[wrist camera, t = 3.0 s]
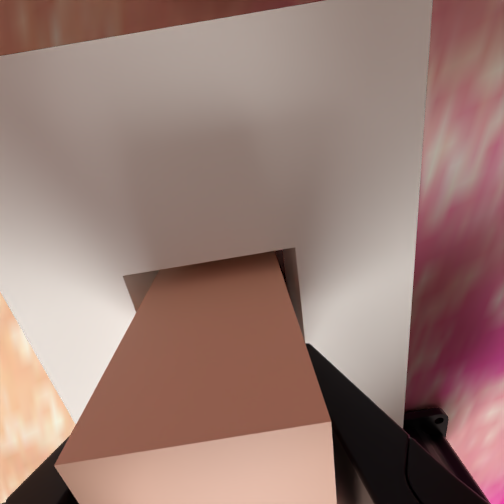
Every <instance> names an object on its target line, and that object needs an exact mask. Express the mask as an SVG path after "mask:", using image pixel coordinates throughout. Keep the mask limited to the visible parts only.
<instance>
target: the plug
mask: <svg viewBox="0 0 504 504" xmlns="http://www.w3.org/2000/svg"><path fill="white" fill-rule="evenodd" d="M54 466H55V468H56V469H57V471H58V472H59V474H60V476H61V477H62V479H63V480H64V482H65V483H66V485H67V486H68V488H69V489H70V491H71V492H72V494H73V495H74V497H75V498H76V500H77V501H78V503H79V504H337V499H336V484H335V469H334V454H333V439H332V424H331V419H330V416H329V413H328V410H327V407H326V404H325V401H324V398H323V395H322V392H321V389H320V386H319V383H318V380H317V377H316V374H315V371H314V368H313V365H312V362H311V359H310V356H309V353H308V350H307V347H306V344H305V341H304V338H303V335H302V332H301V329H300V326H299V323H298V320H297V317H296V314H295V311H294V308H293V305H292V302H291V299H290V296H289V293H288V290H287V287H286V284H285V281H284V278H283V275H282V272H281V269H280V266H279V263H278V260H277V257H276V254H275V251H270V252H264V253H258V254H252V255H246V256H240V257H234V258H228V259H222V260H216V261H210V262H204V263H198V264H192V265H185V266H179V267H173V268H167V269H161V270H159V271H158V273H157V275H156V277H155V279H154V281H153V282H152V284H151V286H150V288H149V290H148V292H147V294H146V295H145V297H144V299H143V301H142V303H141V305H140V307H139V308H138V310H137V312H136V314H135V316H134V318H133V320H132V321H131V323H130V325H129V327H128V329H127V331H126V333H125V335H124V336H123V338H122V340H121V342H120V344H119V346H118V348H117V349H116V351H115V353H114V355H113V357H112V359H111V361H110V362H109V364H108V366H107V368H106V370H105V372H104V374H103V375H102V377H101V379H100V381H99V383H98V385H97V387H96V388H95V390H94V392H93V394H92V396H91V398H90V400H89V401H88V403H87V405H86V407H85V409H84V411H83V413H82V414H81V416H80V418H79V420H78V422H77V424H76V426H75V427H74V429H73V431H72V433H71V435H70V437H69V439H68V440H67V442H66V444H65V446H64V448H63V450H62V452H61V453H60V455H59V457H58V459H57V461H56V463H55V465H54Z"/></svg>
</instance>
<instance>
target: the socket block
mask: <svg viewBox="0 0 504 504" xmlns="http://www.w3.org/2000/svg"><path fill="white" fill-rule="evenodd" d="M432 5H433V0H325V1H319V2H313V3H307V4H301V5H295V6H290V7H284V8H278V9H272V10H266V11H260V12H254V13H249V14H243V15H237V16H231V17H225V18H219V19H214V20H208V21H202V22H196V23H190V24H184V25H178V26H173V27H167V28H161V29H155V30H149V31H143V32H138V33H132V34H126V35H120V36H114V37H108V38H102V39H97V40H91V41H85V42H79V43H73V44H67V45H61V46H56V47H50V48H44V49H38V50H32V51H26V52H21V53H15V54H9V55H3V56H0V292H1V294H2V296H3V297H4V299H5V301H6V303H7V304H8V306H9V308H10V310H11V312H12V313H13V315H14V317H15V319H16V320H17V322H18V324H19V326H20V327H21V329H22V331H23V333H24V334H25V336H26V338H27V340H28V341H29V343H30V345H31V347H32V349H33V350H34V352H35V354H36V356H37V357H38V359H39V361H40V363H41V364H42V366H43V368H44V370H45V371H46V373H47V375H48V377H49V378H50V380H51V382H52V384H53V386H54V387H55V389H56V391H57V393H58V394H59V396H60V398H61V400H62V401H63V403H64V405H65V407H66V408H67V410H68V412H69V414H70V415H71V417H72V419H73V421H74V423H75V424H77V422H78V420H79V418H80V416H81V414H82V413H83V411H84V409H85V407H86V405H87V403H88V401H89V400H90V398H91V396H92V394H93V392H94V390H95V388H96V387H97V385H98V383H99V381H100V379H101V377H102V375H103V374H104V372H105V370H106V368H107V366H108V364H109V362H110V361H111V359H112V357H113V355H114V353H115V351H116V349H117V348H118V346H119V344H120V342H121V340H122V338H123V336H124V335H125V333H126V331H127V329H128V327H129V325H130V323H131V321H132V320H133V318H134V316H135V314H136V312H137V310H138V308H139V307H140V305H141V303H142V301H143V299H144V297H145V295H146V294H147V292H148V290H149V288H150V286H151V284H152V282H153V281H154V279H155V277H156V275H157V273H158V271H159V270H161V269H167V268H173V267H179V266H185V265H192V264H198V263H204V262H210V261H216V260H222V259H228V258H234V257H240V256H246V255H252V254H258V253H264V252H270V251H276V250H283V258H284V266H285V274H286V282H287V290H288V293H289V296H290V299H291V302H292V305H293V308H294V311H295V314H296V317H297V320H298V323H299V326H300V329H301V332H302V335H303V338H304V341H305V343H310V344H311V345H312V346H313V347H314V348H315V349H316V350H318V351H319V352H320V353H321V354H322V355H323V356H324V357H325V358H326V359H327V360H328V361H330V362H331V363H332V364H333V365H334V366H335V367H336V368H337V369H338V370H339V371H340V372H341V373H343V374H344V375H345V376H346V377H347V378H348V379H349V380H350V381H351V382H352V383H353V384H354V385H356V386H357V387H358V388H359V389H360V390H361V391H362V392H363V393H364V394H365V395H366V396H368V397H369V398H370V399H371V400H372V401H373V402H374V403H375V404H376V405H377V406H378V407H379V408H381V409H382V410H383V411H384V412H385V413H386V414H387V415H388V416H389V417H390V418H391V419H393V420H394V421H395V422H396V423H397V424H398V425H399V426H400V427H401V428H402V429H403V422H404V408H405V393H406V379H407V365H408V350H409V336H410V321H411V307H412V293H413V278H414V264H415V249H416V235H417V221H418V206H419V192H420V178H421V163H422V149H423V134H424V120H425V106H426V91H427V77H428V62H429V48H430V34H431V19H432Z"/></svg>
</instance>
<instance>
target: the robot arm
mask: <svg viewBox="0 0 504 504" xmlns="http://www.w3.org/2000/svg"><path fill="white" fill-rule="evenodd" d="M305 344H306V347H307V350H308V353H309V356H310V359H311V362H312V365H313V368H314V371H315V374H316V377H317V380H318V383H319V386H320V389H321V392H322V395H323V398H324V401H325V404H326V407H327V410H328V413H329V416H330V419H331V424H332V439H333V454H334V469H335V484H336V499H337V504H491V503H490V502H489V501H488V499H487V498H486V496H485V495H484V493H483V492H482V490H481V489H480V488H479V486H478V485H477V483H476V482H475V480H474V479H473V477H472V476H471V474H470V473H469V472H468V470H467V469H466V467H465V466H464V464H463V463H462V461H461V460H460V458H459V457H458V456H457V454H456V453H455V451H454V450H453V448H452V447H451V445H450V444H449V442H448V441H447V440H446V438H445V437H446V431H447V425H448V416H447V415H446V414H445V412H444V411H443V410H442V409H441V408H431V409H425V410H419V411H413V412H406V413H404V422H403V429H402V428H401V427H400V426H399V425H398V424H397V423H396V422H395V421H394V420H393V419H391V418H390V417H389V416H388V415H387V414H386V413H385V412H384V411H383V410H382V409H381V408H379V407H378V406H377V405H376V404H375V403H374V402H373V401H372V400H371V399H370V398H369V397H368V396H366V395H365V394H364V393H363V392H362V391H361V390H360V389H359V388H358V387H357V386H356V385H354V384H353V383H352V382H351V381H350V380H349V379H348V378H347V377H346V376H345V375H344V374H343V373H341V372H340V371H339V370H338V369H337V368H336V367H335V366H334V365H333V364H332V363H331V362H330V361H328V360H327V359H326V358H325V357H324V356H323V355H322V354H321V353H320V352H319V351H318V350H316V349H315V348H314V347H313V346H312V345H311V344H310V343H305ZM69 437H70V436H69ZM69 437H68V438H67V439H66V440H65V441H64V442H63V443H62V444H61V445H60V446H59V447H58V448H57V449H56V450H55V451H54V452H53V453H52V454H51V455H50V456H49V457H48V458H47V459H46V460H45V461H44V462H43V463H42V464H41V465H40V466H39V467H38V468H37V469H36V470H35V471H34V472H33V473H32V474H31V475H30V476H29V477H28V478H27V479H26V480H25V481H24V482H23V483H22V484H21V485H20V486H19V487H18V488H17V489H16V490H15V491H14V492H13V493H12V494H11V495H10V496H9V497H8V498H7V500H6V503H2V504H79V503H78V501H77V500H76V498H75V497H74V495H73V494H72V492H71V491H70V489H69V488H68V486H67V485H66V483H65V482H64V480H63V479H62V477H61V476H60V474H59V472H58V471H57V469H56V468H55V466H54V465H55V463H56V461H57V459H58V457H59V455H60V453H61V452H62V450H63V448H64V446H65V444H66V442H67V440H68V439H69Z"/></svg>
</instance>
